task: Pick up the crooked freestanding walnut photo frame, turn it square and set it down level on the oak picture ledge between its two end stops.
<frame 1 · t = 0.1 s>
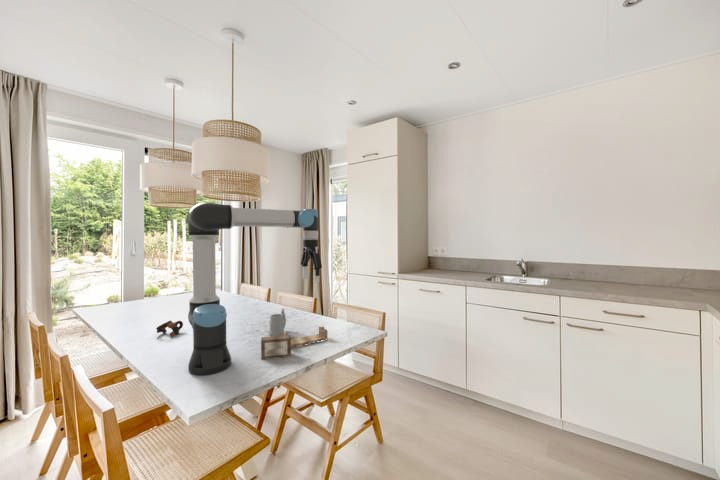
hand: (310, 280, 159), 28 cm above the table, fingers open, 13 cm apart
mug: (278, 333, 161), on the table
ledge: (305, 342, 148), on the table
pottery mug: (170, 335, 159), on the table
frame: (276, 356, 132), on the table
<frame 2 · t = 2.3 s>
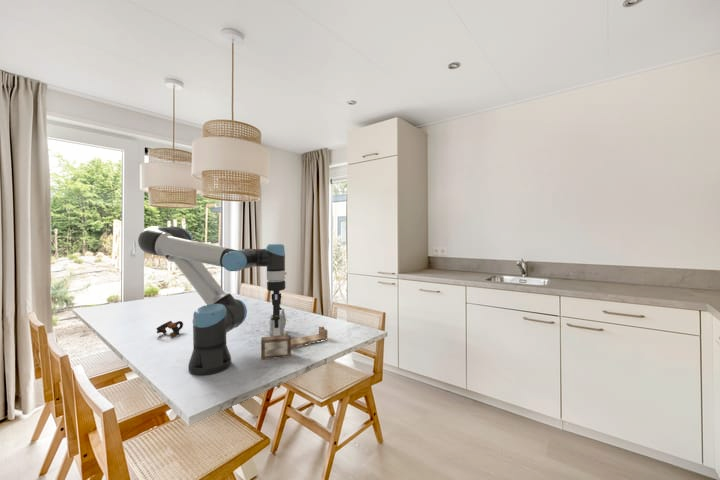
hand: (277, 330, 132), 11 cm above the table, fingers open, 13 cm apart
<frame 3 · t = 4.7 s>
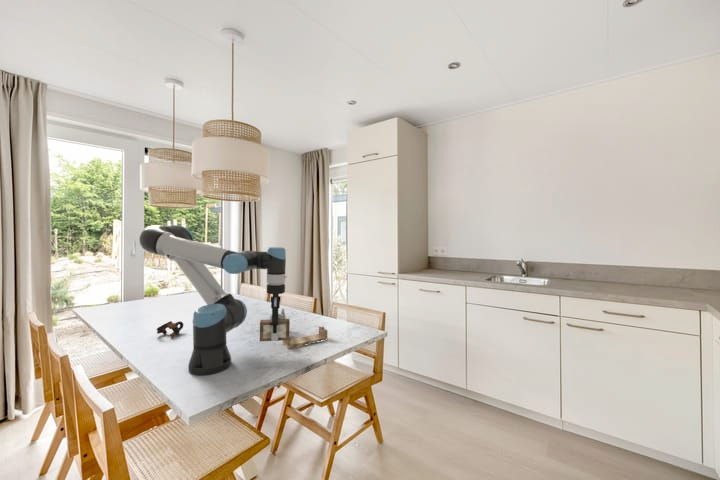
hand: (274, 338, 132), 8 cm above the table, fingers closed on frame, 4 cm apart
frame: (274, 339, 132), point 7 cm above the table, touching gripper
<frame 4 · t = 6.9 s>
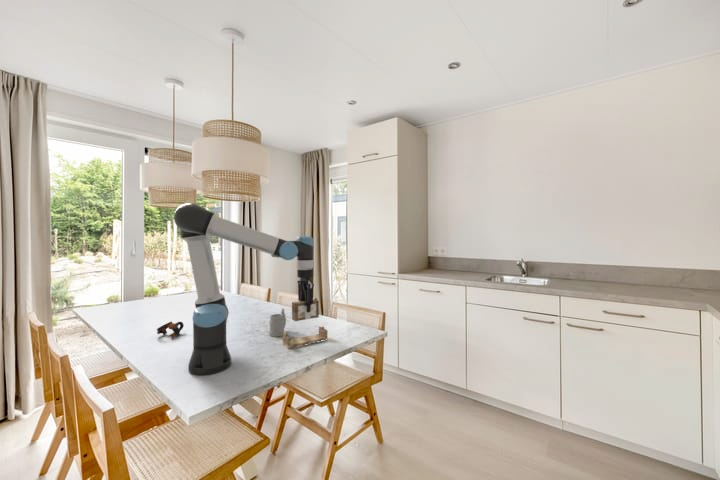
hand: (305, 317, 148), 12 cm above the table, fingers closed on frame, 4 cm apart
frame: (305, 318, 148), point 12 cm above the table, touching gripper
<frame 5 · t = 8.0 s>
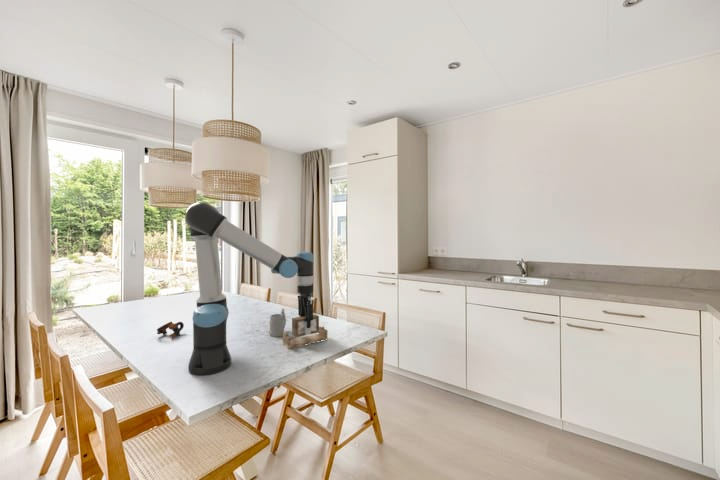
hand: (305, 332, 148), 5 cm above the table, fingers closed on frame, 4 cm apart
frame: (305, 333, 148), point 4 cm above the table, touching gripper
when the fingers open (3 cm above the table, at t = 9.1 s): frame stays where it is, resting on ledge.
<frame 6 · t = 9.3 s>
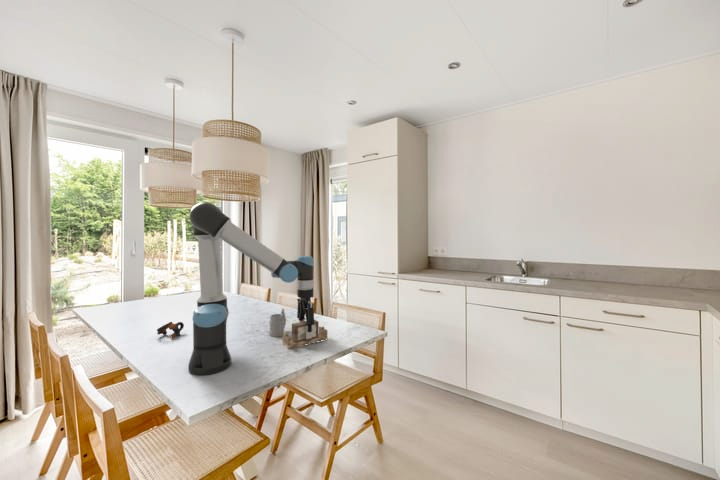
hand: (305, 336, 148), 3 cm above the table, fingers open, 7 cm apart
frame: (305, 339, 148), point 1 cm above the table, touching ledge
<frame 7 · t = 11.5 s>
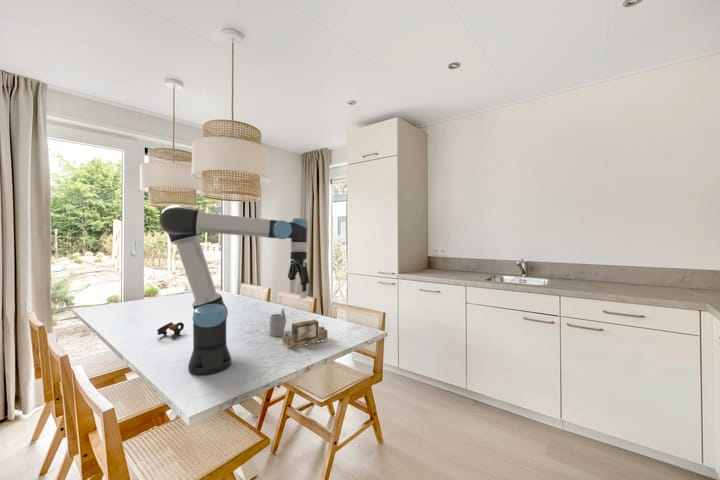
hand: (297, 295, 147), 23 cm above the table, fingers open, 13 cm apart
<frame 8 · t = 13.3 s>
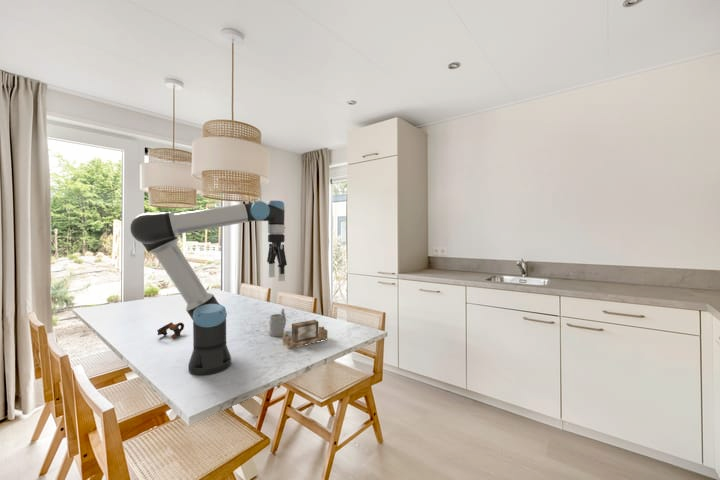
hand: (276, 279, 146), 31 cm above the table, fingers open, 13 cm apart
at the end: frame inside the target area on the ledge (0.1 cm from its centre), point 1.5 cm above the ledge's base; frame tilted 0°; the gripper is holding nothing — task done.
